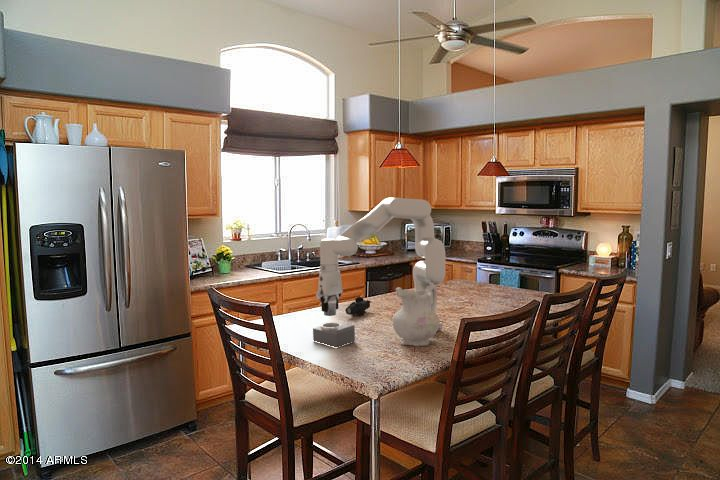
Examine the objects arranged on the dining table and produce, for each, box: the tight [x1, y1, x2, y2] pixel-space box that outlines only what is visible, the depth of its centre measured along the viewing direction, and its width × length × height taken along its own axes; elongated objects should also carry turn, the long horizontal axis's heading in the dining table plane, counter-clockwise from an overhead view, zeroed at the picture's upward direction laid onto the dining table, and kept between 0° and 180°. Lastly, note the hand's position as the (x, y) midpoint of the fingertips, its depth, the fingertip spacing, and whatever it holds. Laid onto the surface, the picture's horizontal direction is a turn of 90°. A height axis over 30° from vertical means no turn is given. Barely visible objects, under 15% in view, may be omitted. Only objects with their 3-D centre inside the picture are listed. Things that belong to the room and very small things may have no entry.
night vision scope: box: [345, 296, 372, 317], centre depth 254 cm, size 8×18×10 cm
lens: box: [323, 295, 337, 317], centre depth 209 cm, size 6×6×8 cm
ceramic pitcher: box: [392, 281, 440, 347], centre depth 207 cm, size 22×20×25 cm
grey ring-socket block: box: [312, 321, 356, 347], centre depth 209 cm, size 14×11×8 cm
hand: (330, 309), depth 209 cm, fingers closed on lens, 5 cm apart
